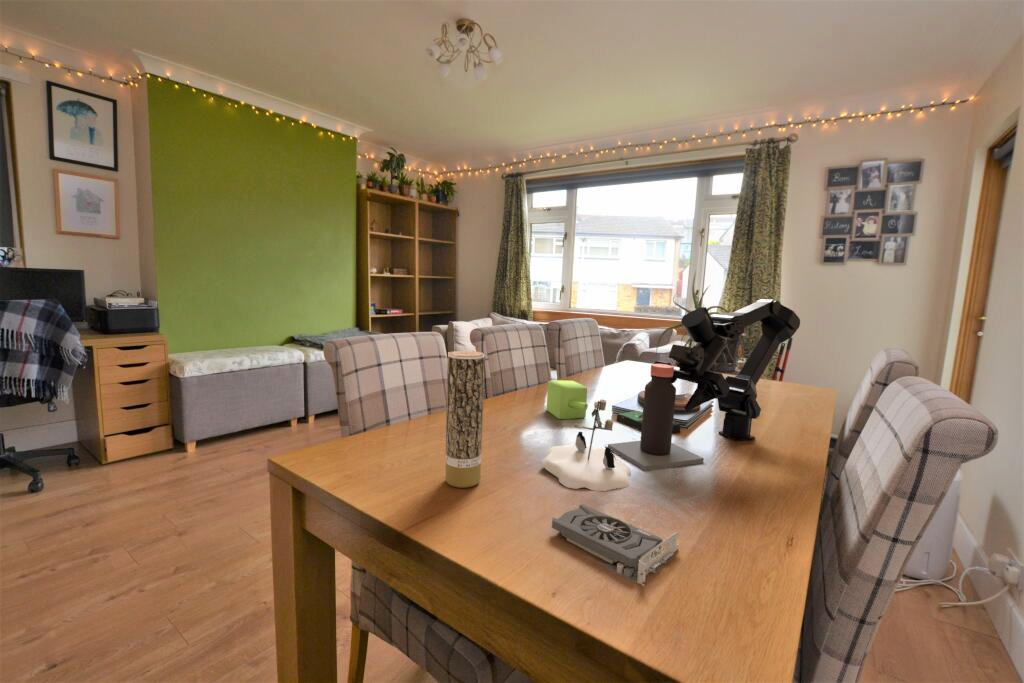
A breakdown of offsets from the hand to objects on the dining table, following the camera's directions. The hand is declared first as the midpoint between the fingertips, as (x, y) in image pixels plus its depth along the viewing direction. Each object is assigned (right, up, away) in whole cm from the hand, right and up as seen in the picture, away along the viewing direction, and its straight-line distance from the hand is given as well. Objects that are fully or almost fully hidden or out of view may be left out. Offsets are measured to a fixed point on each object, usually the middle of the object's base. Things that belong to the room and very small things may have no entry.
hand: (669, 404), depth 108 cm
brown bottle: (-4, -11, -1) cm, 11 cm away
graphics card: (-21, -16, -38) cm, 47 cm away
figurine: (-21, -13, -11) cm, 27 cm away
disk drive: (+1, -10, +23) cm, 25 cm away
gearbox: (-20, -7, +31) cm, 37 cm away
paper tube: (-46, -12, -19) cm, 51 cm away
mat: (-4, -12, -1) cm, 12 cm away
